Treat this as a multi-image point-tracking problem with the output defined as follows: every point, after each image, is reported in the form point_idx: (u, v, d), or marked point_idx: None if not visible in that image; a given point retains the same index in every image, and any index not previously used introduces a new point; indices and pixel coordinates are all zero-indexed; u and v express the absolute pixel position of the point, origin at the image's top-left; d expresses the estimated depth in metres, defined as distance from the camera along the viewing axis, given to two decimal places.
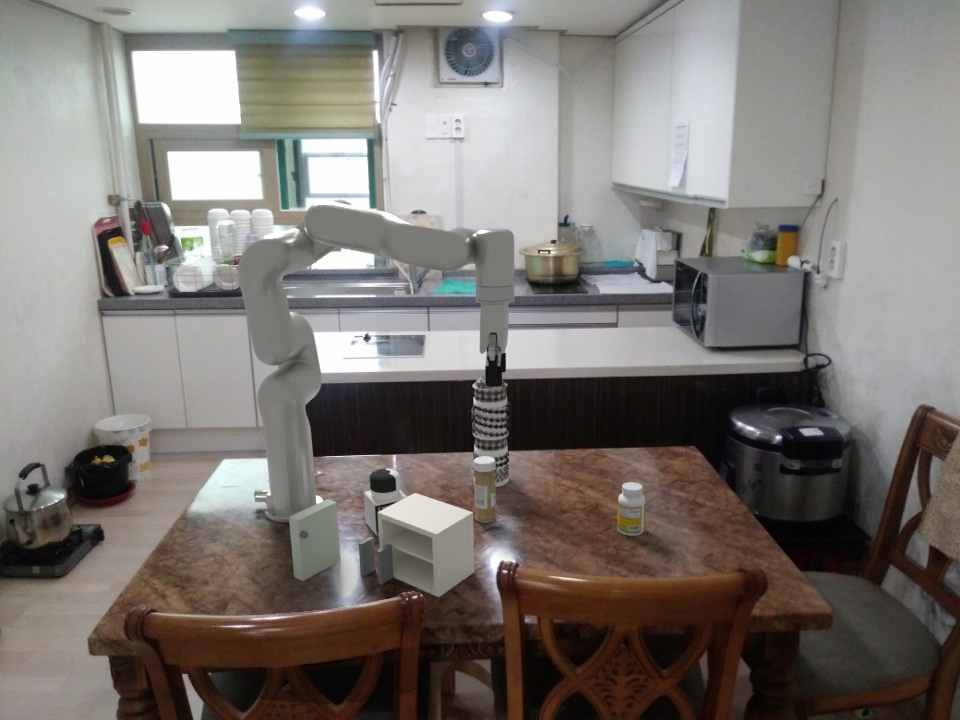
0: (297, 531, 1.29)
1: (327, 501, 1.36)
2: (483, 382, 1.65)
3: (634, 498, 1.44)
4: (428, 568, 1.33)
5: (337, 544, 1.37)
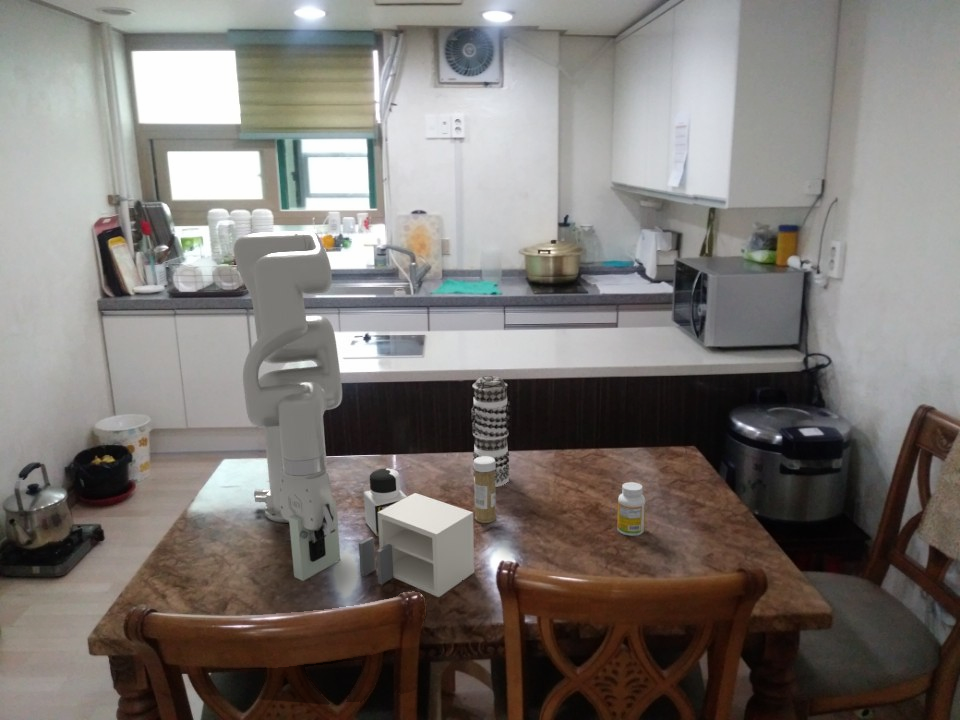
0: (297, 531, 1.29)
1: None
2: (483, 382, 1.65)
3: (634, 498, 1.44)
4: (428, 568, 1.33)
5: (337, 544, 1.37)
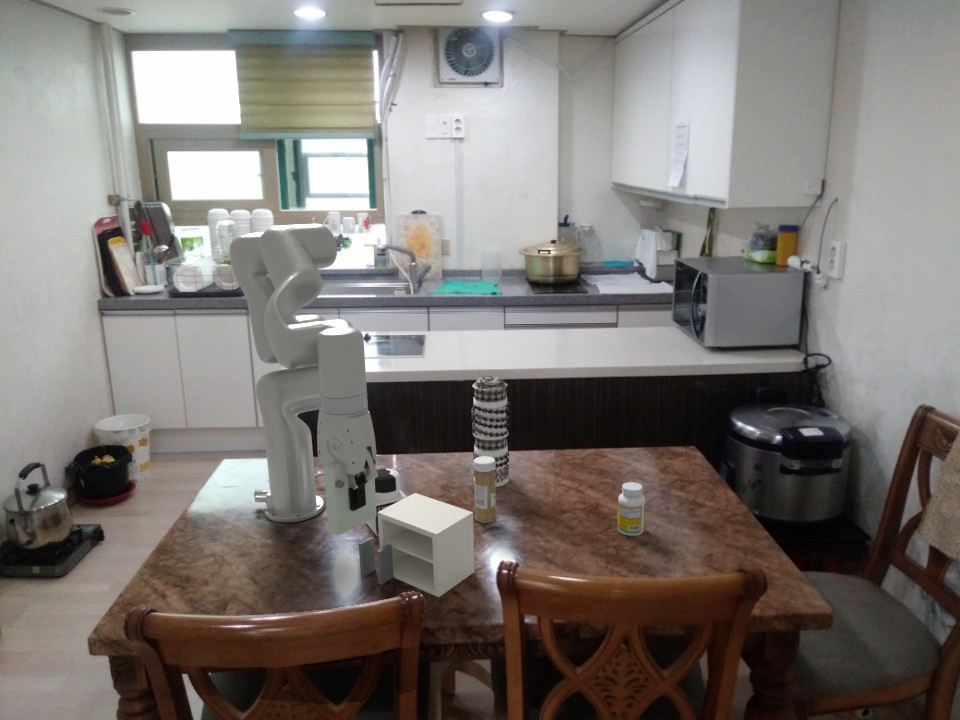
0: (332, 481, 1.19)
1: None
2: (483, 382, 1.65)
3: (634, 498, 1.44)
4: (428, 568, 1.33)
5: (373, 498, 1.27)
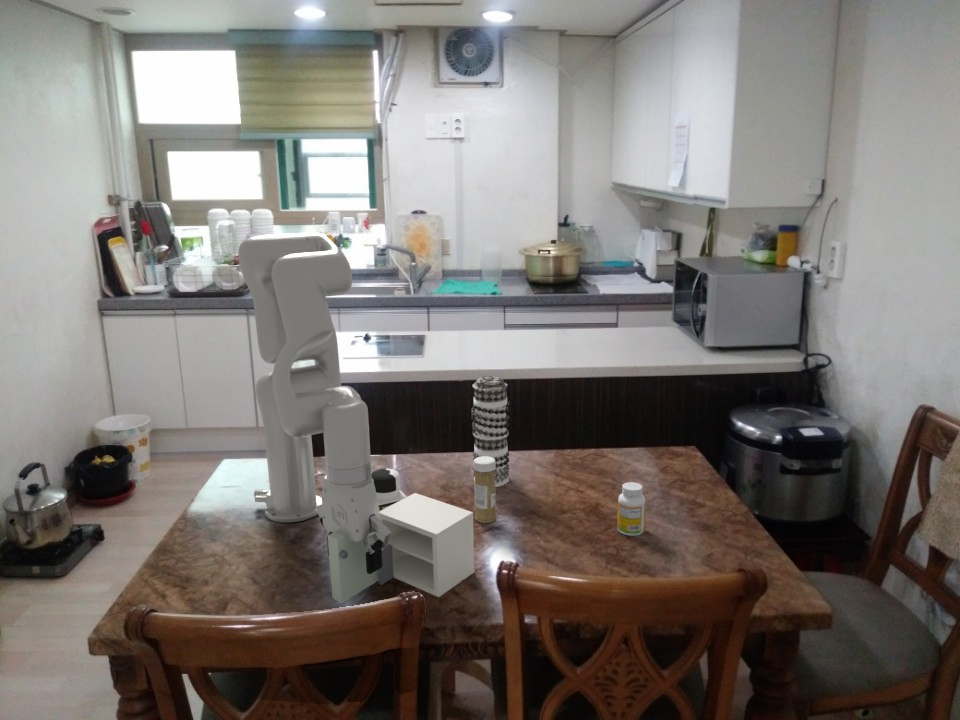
0: (336, 551, 1.23)
1: None
2: (483, 382, 1.65)
3: (634, 498, 1.44)
4: (428, 568, 1.33)
5: None
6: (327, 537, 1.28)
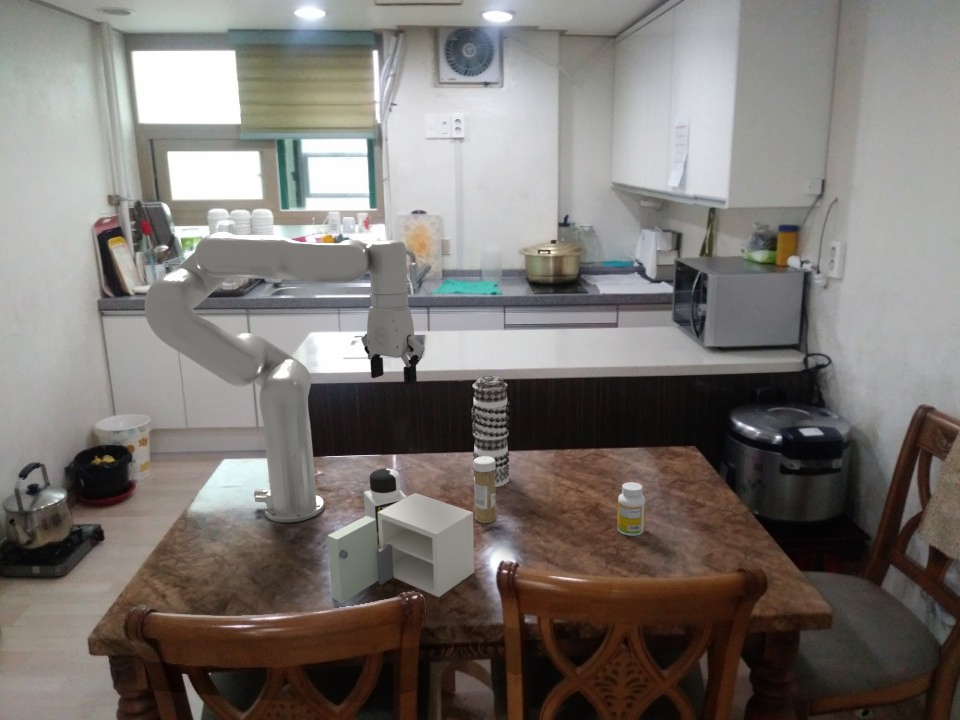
0: (336, 551, 1.23)
1: (366, 518, 1.29)
2: (483, 382, 1.65)
3: (634, 498, 1.44)
4: (428, 568, 1.33)
5: (376, 563, 1.30)
6: (370, 361, 1.56)
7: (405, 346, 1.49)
